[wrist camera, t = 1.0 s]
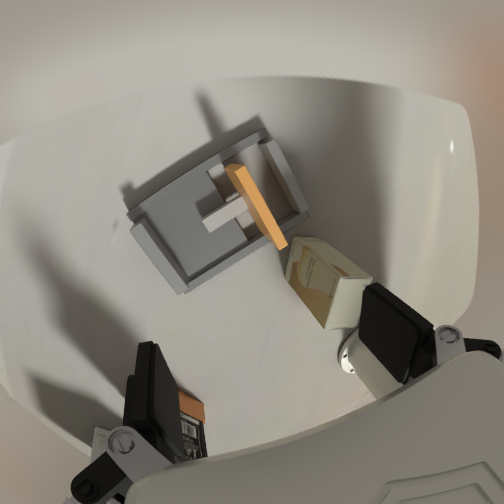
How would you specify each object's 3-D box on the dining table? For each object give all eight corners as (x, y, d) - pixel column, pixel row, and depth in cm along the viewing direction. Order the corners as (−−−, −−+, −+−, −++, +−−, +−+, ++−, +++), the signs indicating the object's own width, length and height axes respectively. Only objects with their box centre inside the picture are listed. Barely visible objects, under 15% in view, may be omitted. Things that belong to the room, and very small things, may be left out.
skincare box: (291, 235, 35) (340, 273, 24) (321, 237, 36) (375, 274, 25) (283, 280, 37) (323, 332, 26) (311, 280, 38) (357, 328, 27)
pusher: (267, 226, 33) (288, 245, 26) (224, 253, 32) (234, 278, 26) (231, 163, 29) (244, 165, 23) (184, 191, 29) (184, 202, 22)
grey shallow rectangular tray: (304, 213, 34) (318, 221, 31) (184, 288, 34) (185, 304, 30) (260, 129, 29) (271, 126, 26) (128, 211, 29) (121, 219, 25)
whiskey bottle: (127, 402, 39) (130, 570, 10) (162, 378, 38) (183, 575, 9) (171, 425, 43) (193, 574, 14) (206, 405, 43) (248, 570, 13)
